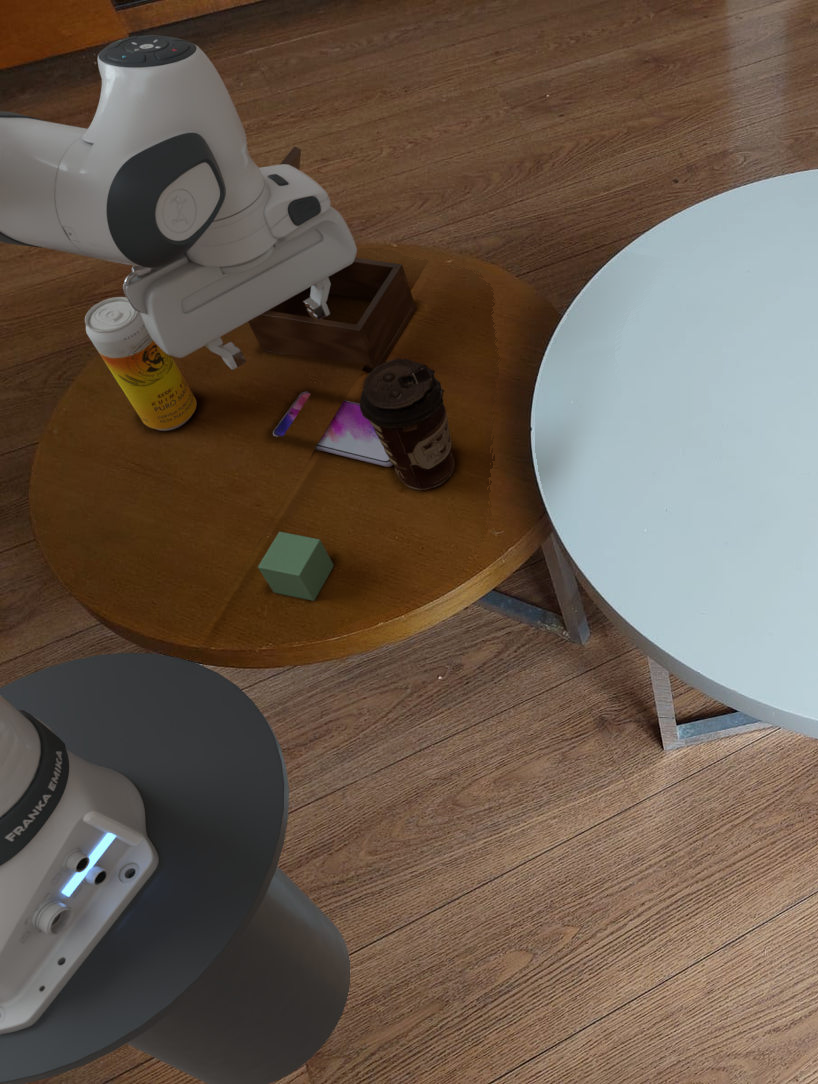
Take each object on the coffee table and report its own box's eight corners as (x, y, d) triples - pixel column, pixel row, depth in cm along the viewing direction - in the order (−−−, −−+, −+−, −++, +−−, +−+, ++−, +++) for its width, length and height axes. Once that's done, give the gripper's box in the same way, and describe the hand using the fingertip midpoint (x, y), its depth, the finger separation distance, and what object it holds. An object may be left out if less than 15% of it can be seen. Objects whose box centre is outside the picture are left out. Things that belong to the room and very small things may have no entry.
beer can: (177, 439, 123) (115, 339, 111) (132, 426, 125) (67, 325, 113) (210, 403, 127) (154, 302, 115) (167, 390, 128) (107, 288, 116)
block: (314, 601, 110) (299, 575, 106) (273, 592, 110) (257, 567, 107) (334, 565, 112) (320, 539, 109) (294, 557, 113) (279, 531, 109)
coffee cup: (479, 446, 122) (454, 360, 111) (451, 504, 117) (422, 419, 106) (405, 434, 123) (374, 348, 112) (375, 490, 118) (339, 405, 108)
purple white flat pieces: (390, 464, 119) (269, 435, 122) (392, 470, 120) (272, 440, 123) (420, 417, 123) (302, 389, 126) (422, 422, 124) (305, 394, 127)
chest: (416, 308, 135) (402, 264, 130) (376, 373, 129) (359, 330, 123) (308, 291, 138) (290, 247, 132) (264, 355, 131) (242, 311, 126)
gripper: (132, 293, 91) (199, 410, 102) (342, 184, 99) (383, 303, 110) (96, 259, 94) (165, 377, 105) (304, 157, 102) (347, 276, 113)
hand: (278, 339), depth 108 cm, fingers open, 8 cm apart
